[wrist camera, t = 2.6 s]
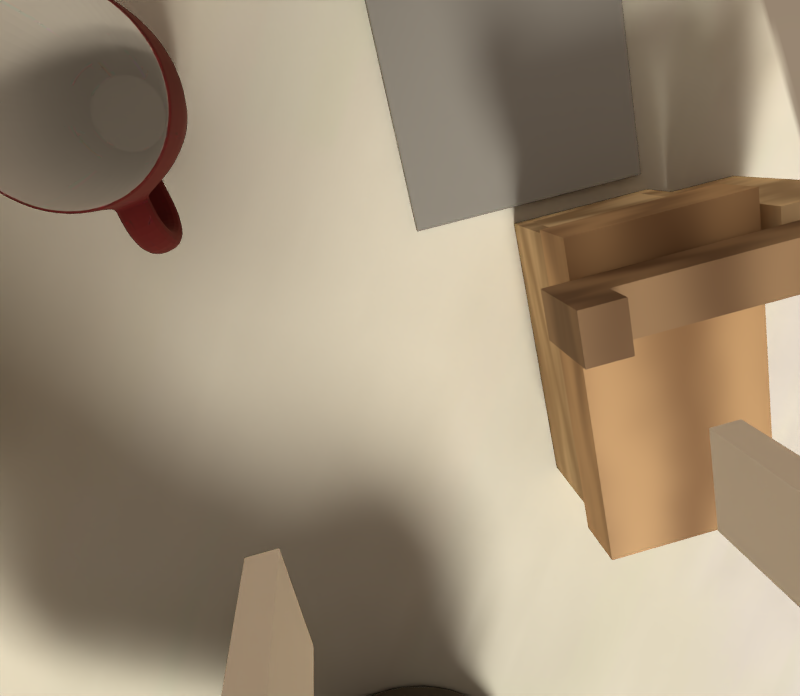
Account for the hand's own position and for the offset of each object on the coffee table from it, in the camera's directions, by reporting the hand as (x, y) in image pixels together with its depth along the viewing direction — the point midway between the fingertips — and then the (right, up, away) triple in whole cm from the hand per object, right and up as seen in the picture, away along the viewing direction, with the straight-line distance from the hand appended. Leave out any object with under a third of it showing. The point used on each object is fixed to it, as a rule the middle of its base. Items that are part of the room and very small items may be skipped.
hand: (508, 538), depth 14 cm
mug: (-15, +15, +18) cm, 28 cm away
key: (+10, +7, +14) cm, 18 cm away
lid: (+11, +3, +19) cm, 22 cm away
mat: (+2, +22, +19) cm, 29 cm away
